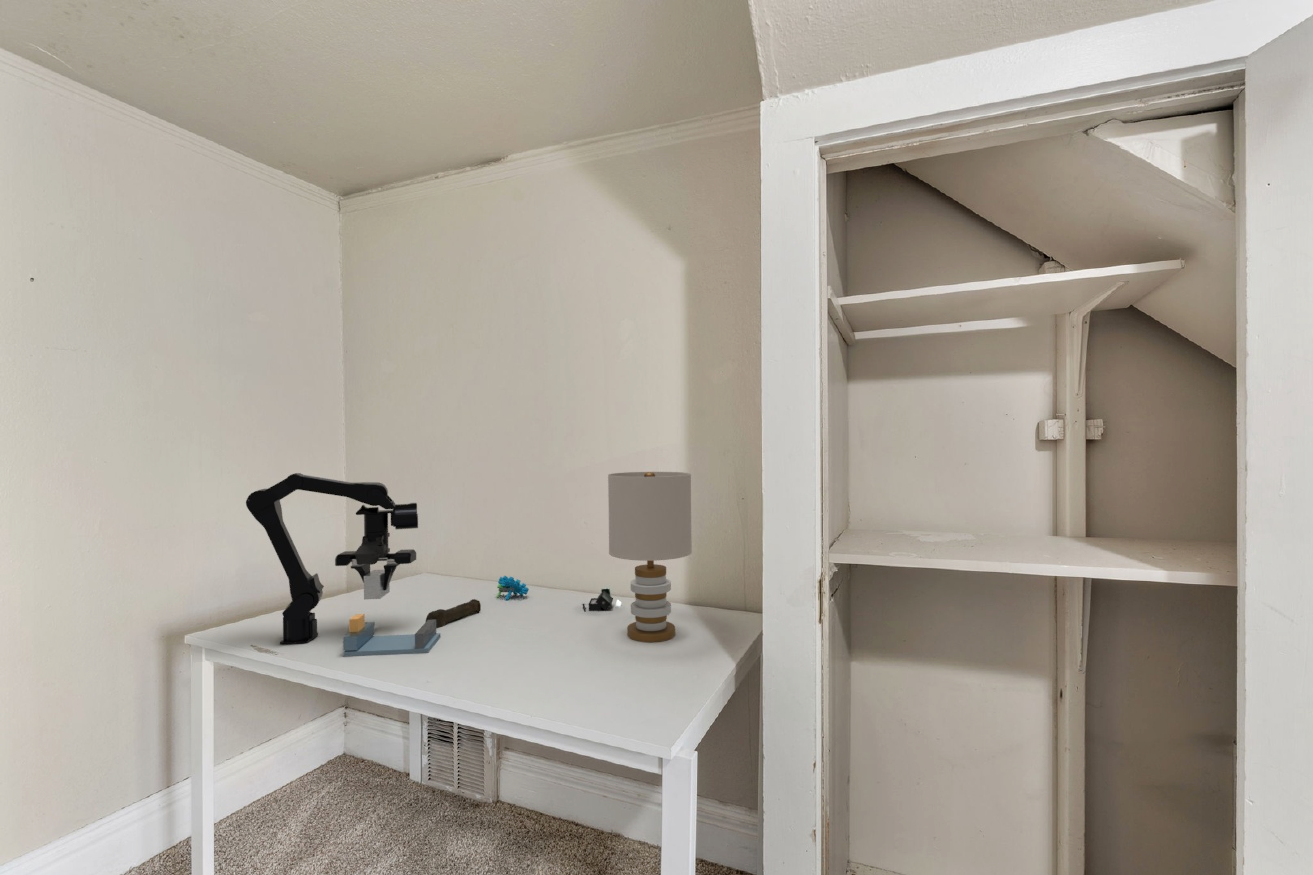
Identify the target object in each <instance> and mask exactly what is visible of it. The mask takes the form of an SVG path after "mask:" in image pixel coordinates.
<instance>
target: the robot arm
mask: <svg viewBox="0 0 1313 875" xmlns="http://www.w3.org/2000/svg"><path fill="white" fill-rule="evenodd" d="M296 491H304V492H305V491H306V492H313V493H318V494H324V495H331V496H339V497H346V498H349V499H352V500H355V501H357V502H360V503H361V504H362V505H361V507H360V508H359V509H357V511H356V512H355V515H357V516H363V529H364V530H363V531H364V533H363V535H364V536H363V535H362V539H361V544H360V545H359V547H358V548H357V549H356V550H349V551H343V552H340V553H338V554H337V555H336V556H335V558H334V566H335V567H343V566H344V567H345V566H349V565H350V564H351V565H350V569H352V570H353V569H354V570H355V571H356V572H358V574H359V576H360V578H361V581H362V583H363V584H364V576H365V575H366V574H368V573H370V572H371V565H375V564H377V563H378V562H382V561H383V562H384V561H385V562H386V564H384V565H383V570H385V575H384V590H387V588H388V586H389V583H391V581H392V577H393V575H394V572H395V571H396V569H397V567H398V566H400V565H407V564H408V565H409V564H412V563H413V562H415V561H417V551H416V550H415V549H414V548H413V549H400V550H398V551H396V552H395V553H394V552H393V553H390V552H391V551H390V550H391V548H390V547H389V538H390V535H391V534H390V532H389V514H390V526H391V527H394V529H395V530H408V529H409V530H410V529H411V530H412V529H418V528H419V513H418V503H417V502H410V503H403V504H402V503H401V504H399V503H398V504H396V503H395V501H394V500H393V499H392V498H391V496H389V491H388V488H387V486H386V485H385V484H384V483H382V482H375V481H374V482H372V481H371V482H370V481H369V482H368V481H366V482H349V481H343V480H337V479H331V478H326V477H318V476H313V475H306V474H303V473H301V472H296V473H292V474H290V475H288V476H287V477H285V479H283V480H281V481H279V482H277V483H276V484H274V485H272V486H270V487H268V488H262V489H257V490H256V491H253V492H251V493H250V494H249V495H248V496H247V497H246V500H245V506H246V508H247V509H248V511H249V512H250V514H251V515H252V516H253V518H254V519H255V520H256V521H257V522H258V523H259V524H260V525H261V526H262V527H263V529H264V530H265V532H266V534H267V536H268V539H269V540H270V543H271V545H272V548H274V552H275V553H276V555H277V557H278V560H279V562H280V564H281V567H282V568H283V570H284V573H285V575H286V577H287V578H288V584H289V585H288V586H289V593H290V597H291V602H289V603H288V605H287V606H286V608H285V609H284V610H283V611H282V616H283V617H282V638H283V639H282V640H280V641H279V645H286V644H287V645H288V644H306V643H309V642H310V641H311V640H313V639H315V638H316V637H317V636H318V635H319V632H318V619H317V618H316V613H315V612H312V610H314V609H315V608H316V607H317V606H318V604H319V602H320V601H321V599H322V597H323V589H324V587H325V585H323V584H322V583H321V581H320V577H319V573H315V574H313V575H311V573H309V571H308V570H307V569H306V566H305V565H304V562H303V560H302V558H301V556H300V554H299V551H298V550H297V548H296V546H295V544H294V541H293V538H292V537H291V535H290V533H289V530H288V528H287V527H286V524H285V521H284V519H283V511H282V510H283V509H282V508H283V507H282V504H281V500H282V499H284V498H286V497H287V496H289V495H290V494H292V493H294V492H296ZM366 505H369V506H370V507H367V506H366ZM378 506H379V507H378ZM380 507H381V508H383V509H384V510H380Z"/></svg>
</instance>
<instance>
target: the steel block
mask: <svg viewBox="0 0 1313 875" xmlns="http://www.w3.org/2000/svg"><path fill="white" fill-rule="evenodd" d="M384 575H385V570H384V569H373V570H372V571H371V570H370V573H368V574H366V575H365V576H364V583H363V600H381V599H382V598H383V597H385V596H386V595H387V594H389V593H390V592H391V591H390V589H391V588H390V587H391V586H390V583H391V582H390V583H389V586H388V588H387V590H384Z"/></svg>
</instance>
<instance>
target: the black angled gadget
mask: <svg viewBox="0 0 1313 875" xmlns="http://www.w3.org/2000/svg"><path fill="white" fill-rule="evenodd" d="M613 600H614V597H612V596H611V590H610V588H608V587H606V588H601V590H600V594H599V595H598V596H597V597H595V598H594V597H593V598H591V599H590V601H589V603H588V612H601V611H602V609H603V610H604V611H607V610H608V609H609V608H610V606H611V605H612V603H613V602H614V601H613ZM585 606H586V605H585V603H582V610H583V612H584V613H585V612H587V607H585ZM615 606H616V607H621V606H622V601H620V600H619V599H616V602H615Z"/></svg>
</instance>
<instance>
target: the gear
mask: <svg viewBox="0 0 1313 875" xmlns="http://www.w3.org/2000/svg"><path fill="white" fill-rule="evenodd" d="M497 582H498V585H497V586H496V587H497V589H498V593H497V595H496V598H497V599H499V598H500V596H501V594H502V593H507V594H506V596H505V598H504V599H505V601H509V599H510V597H511V596H512V594H513V595H518V594H519V596H523V595H527V594H528V592H529V587H527V584H526V583H522V584H521V580H520V579H516V580H515V579H514V576H509V577H508V576H507V575H503V577H502V576H500V577H499V579H498V581H497Z"/></svg>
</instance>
